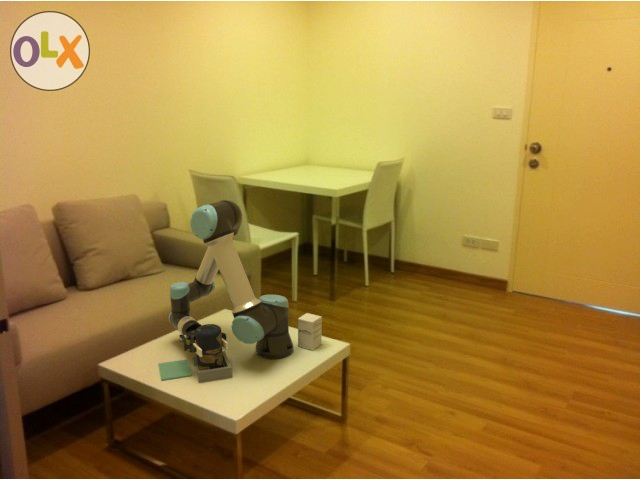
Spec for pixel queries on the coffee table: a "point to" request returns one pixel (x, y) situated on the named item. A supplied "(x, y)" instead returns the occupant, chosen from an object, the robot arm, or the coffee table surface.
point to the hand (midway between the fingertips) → (214, 349)
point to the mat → (175, 370)
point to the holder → (214, 371)
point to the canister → (209, 347)
